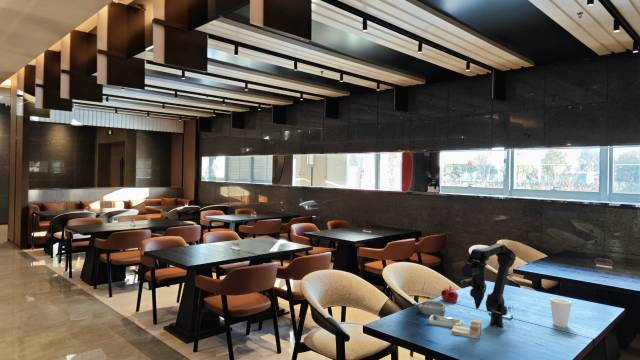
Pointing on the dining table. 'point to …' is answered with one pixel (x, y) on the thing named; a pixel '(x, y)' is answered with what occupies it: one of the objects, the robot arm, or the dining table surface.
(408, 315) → the dining table surface
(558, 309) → the foam cup
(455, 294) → the pomegranate
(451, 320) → the pin
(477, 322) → the bracket
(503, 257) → the robot arm
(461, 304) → the dining table surface
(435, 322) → the tray
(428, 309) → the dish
